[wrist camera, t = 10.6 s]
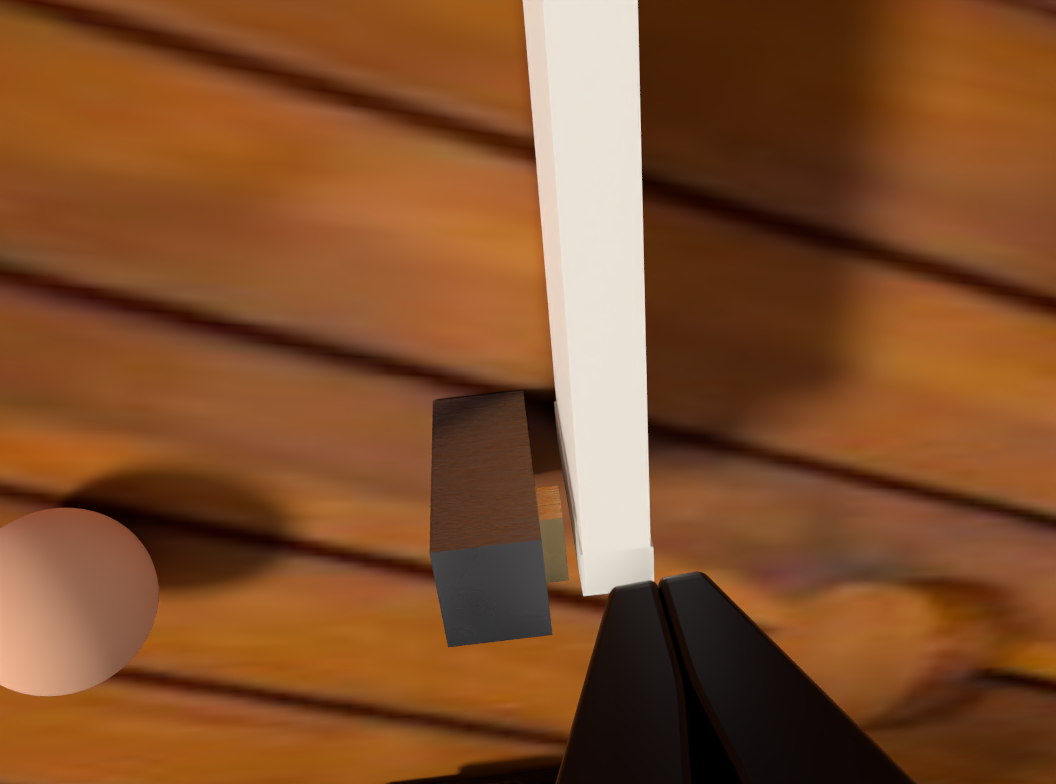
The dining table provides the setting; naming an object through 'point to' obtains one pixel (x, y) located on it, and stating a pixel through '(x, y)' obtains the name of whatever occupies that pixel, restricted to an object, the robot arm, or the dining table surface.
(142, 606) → the ball
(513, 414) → the post
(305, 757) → the dining table surface
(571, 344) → the long white bar
